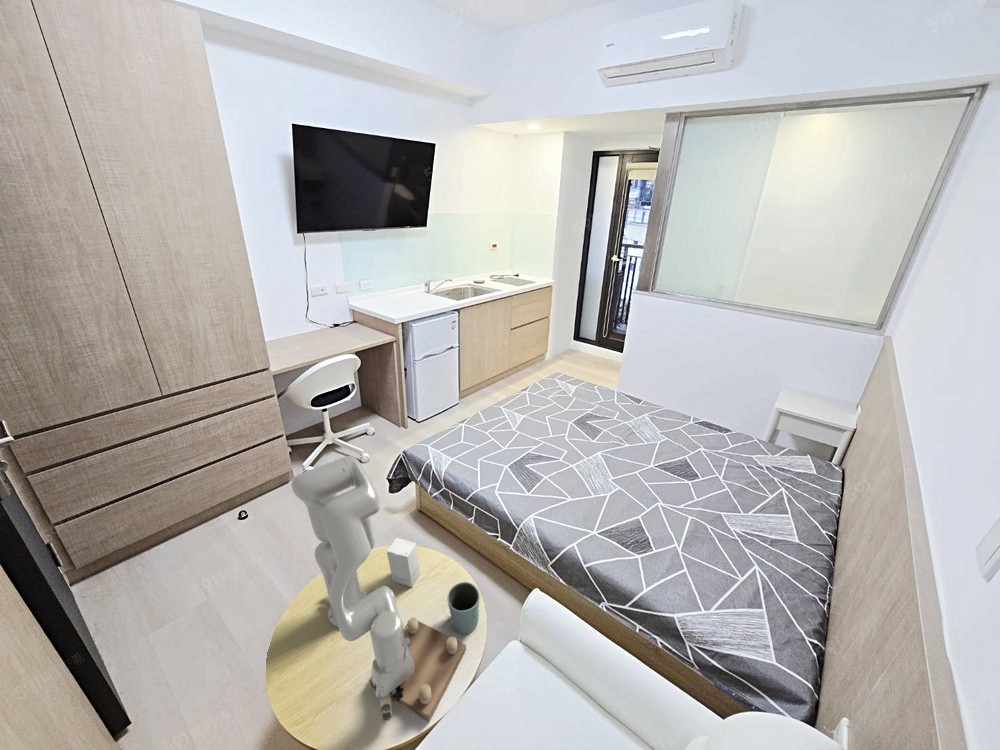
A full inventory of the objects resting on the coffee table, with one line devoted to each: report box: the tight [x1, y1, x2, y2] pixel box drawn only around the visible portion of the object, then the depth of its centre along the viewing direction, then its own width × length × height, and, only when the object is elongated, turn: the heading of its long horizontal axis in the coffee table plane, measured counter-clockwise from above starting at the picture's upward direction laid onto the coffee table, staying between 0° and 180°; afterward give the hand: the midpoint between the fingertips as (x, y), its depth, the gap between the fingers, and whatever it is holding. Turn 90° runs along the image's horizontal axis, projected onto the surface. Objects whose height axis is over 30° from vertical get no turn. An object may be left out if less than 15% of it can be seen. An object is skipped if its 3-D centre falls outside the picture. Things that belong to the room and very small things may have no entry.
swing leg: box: [379, 694, 393, 722], centre depth 109 cm, size 13×3×3 cm, turn 19°
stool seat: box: [368, 617, 467, 723], centre depth 117 cm, size 20×20×6 cm
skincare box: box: [386, 537, 421, 588], centre depth 142 cm, size 8×7×16 cm
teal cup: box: [446, 581, 480, 635], centre depth 129 cm, size 10×10×12 cm
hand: (397, 694), depth 109 cm, fingers closed
